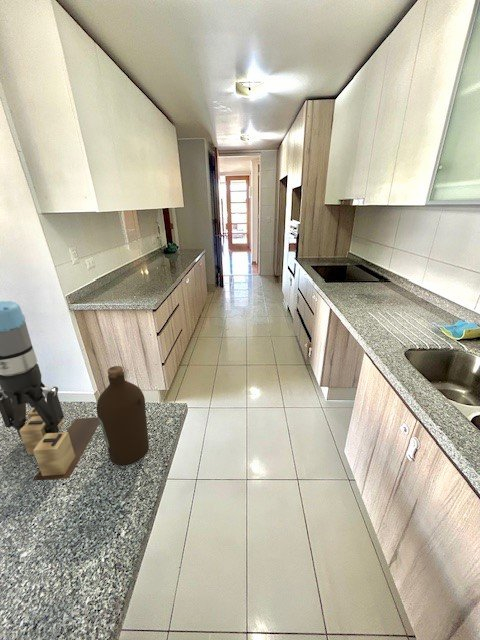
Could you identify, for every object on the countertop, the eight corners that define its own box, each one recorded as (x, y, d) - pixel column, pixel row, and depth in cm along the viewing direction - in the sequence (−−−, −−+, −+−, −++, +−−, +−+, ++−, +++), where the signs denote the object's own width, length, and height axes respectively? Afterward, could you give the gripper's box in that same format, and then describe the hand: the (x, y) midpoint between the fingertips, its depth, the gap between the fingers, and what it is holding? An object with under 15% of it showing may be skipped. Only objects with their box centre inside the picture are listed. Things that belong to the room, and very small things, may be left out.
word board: (33, 482, 60) (32, 480, 59) (76, 420, 78) (75, 418, 78) (69, 479, 60) (69, 477, 60) (103, 418, 79) (103, 417, 79)
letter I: (28, 455, 66) (18, 429, 63) (40, 439, 71) (31, 415, 68) (48, 453, 66) (40, 428, 63) (59, 438, 71) (52, 414, 68)
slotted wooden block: (35, 437, 72) (26, 413, 69) (45, 424, 76) (38, 400, 73) (54, 436, 72) (46, 412, 69) (63, 423, 77) (56, 399, 74)
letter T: (42, 476, 60) (32, 449, 57) (54, 457, 65) (45, 431, 62) (64, 474, 61) (56, 447, 58) (75, 456, 66) (67, 430, 62)
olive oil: (151, 432, 74) (140, 355, 65) (151, 463, 65) (138, 378, 56) (110, 440, 71) (93, 361, 62) (104, 474, 62) (83, 386, 53)
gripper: (-40, 379, 55) (-5, 459, 64) (49, 376, 57) (72, 454, 66) (-12, 361, 62) (16, 435, 71) (67, 358, 64) (85, 431, 73)
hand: (43, 444), depth 68 cm, fingers closed on letter I, 5 cm apart
